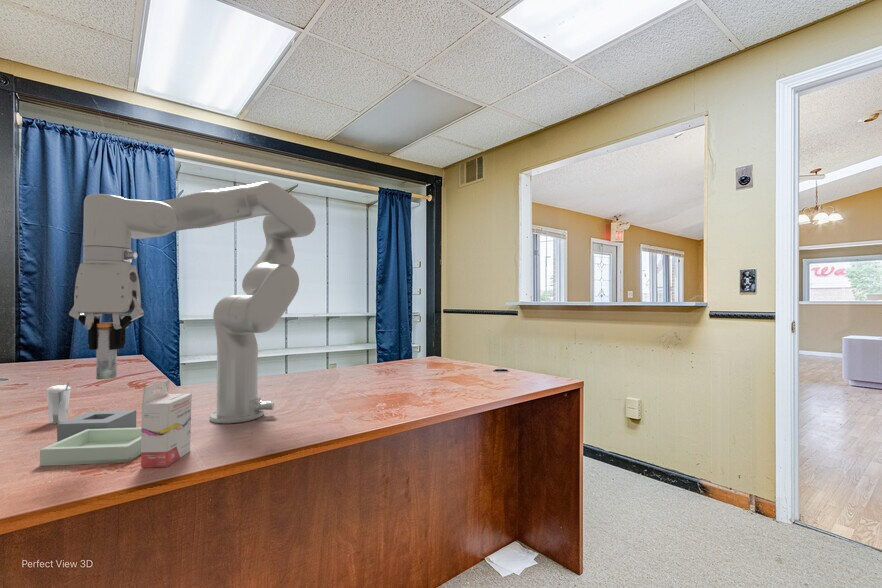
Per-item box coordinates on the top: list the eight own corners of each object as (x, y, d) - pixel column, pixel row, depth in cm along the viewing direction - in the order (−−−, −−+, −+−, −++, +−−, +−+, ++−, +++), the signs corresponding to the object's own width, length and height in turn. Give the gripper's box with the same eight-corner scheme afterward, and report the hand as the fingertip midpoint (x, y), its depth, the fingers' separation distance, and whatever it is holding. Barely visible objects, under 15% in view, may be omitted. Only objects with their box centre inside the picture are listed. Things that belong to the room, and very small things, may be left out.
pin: (120, 376, 86) (121, 322, 86) (109, 379, 82) (110, 323, 83) (103, 376, 85) (103, 322, 85) (91, 379, 82) (92, 323, 82)
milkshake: (58, 425, 101) (58, 384, 101) (40, 424, 102) (41, 383, 102) (78, 420, 105) (78, 380, 106) (61, 418, 107) (61, 379, 107)
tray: (162, 440, 91) (162, 426, 91) (127, 462, 79) (127, 446, 79) (87, 443, 89) (87, 429, 89) (39, 465, 77) (40, 449, 77)
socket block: (136, 426, 100) (136, 410, 100) (108, 441, 90) (108, 422, 90) (90, 428, 99) (90, 411, 99) (57, 442, 89) (57, 424, 89)
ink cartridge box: (168, 467, 76) (169, 387, 77) (139, 468, 76) (140, 387, 76) (192, 450, 85) (192, 378, 85) (166, 451, 85) (167, 378, 85)
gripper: (161, 259, 89) (161, 346, 89) (77, 258, 87) (76, 347, 87) (140, 256, 81) (139, 350, 81) (47, 255, 79) (46, 351, 79)
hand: (106, 347), depth 84 cm, fingers closed on pin, 3 cm apart
